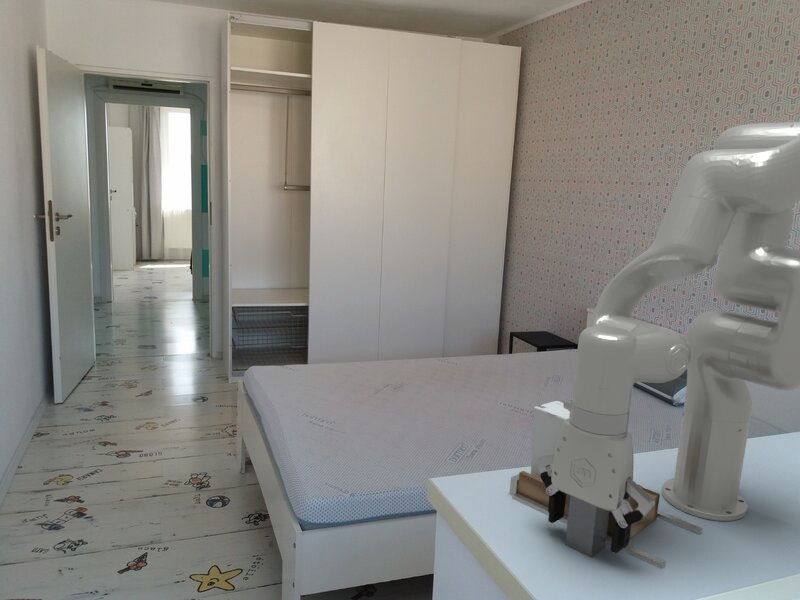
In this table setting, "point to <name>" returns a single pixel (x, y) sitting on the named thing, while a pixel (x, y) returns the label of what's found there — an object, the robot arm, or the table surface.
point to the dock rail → (627, 549)
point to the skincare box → (546, 431)
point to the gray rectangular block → (586, 527)
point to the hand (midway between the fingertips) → (585, 533)
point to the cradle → (537, 492)
